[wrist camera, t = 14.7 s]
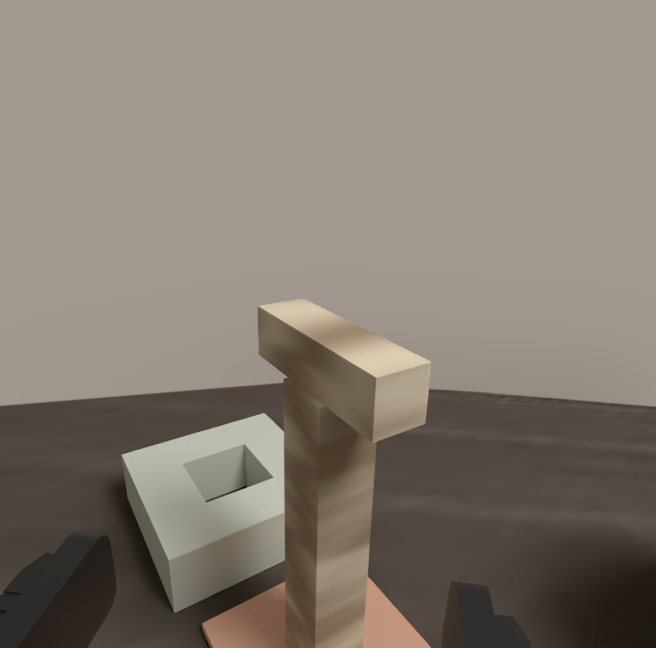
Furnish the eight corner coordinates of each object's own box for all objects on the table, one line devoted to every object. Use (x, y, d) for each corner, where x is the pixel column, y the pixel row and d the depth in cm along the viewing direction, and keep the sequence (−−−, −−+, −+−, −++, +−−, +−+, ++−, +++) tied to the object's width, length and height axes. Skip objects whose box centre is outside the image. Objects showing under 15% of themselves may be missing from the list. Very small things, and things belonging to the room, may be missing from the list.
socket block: (127, 498, 38) (121, 454, 37) (265, 451, 45) (264, 413, 43) (174, 613, 29) (168, 560, 28) (340, 534, 35) (342, 487, 34)
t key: (261, 602, 29) (252, 306, 23) (304, 580, 31) (307, 297, 25) (348, 748, 22) (370, 379, 16) (399, 710, 24) (436, 360, 18)
